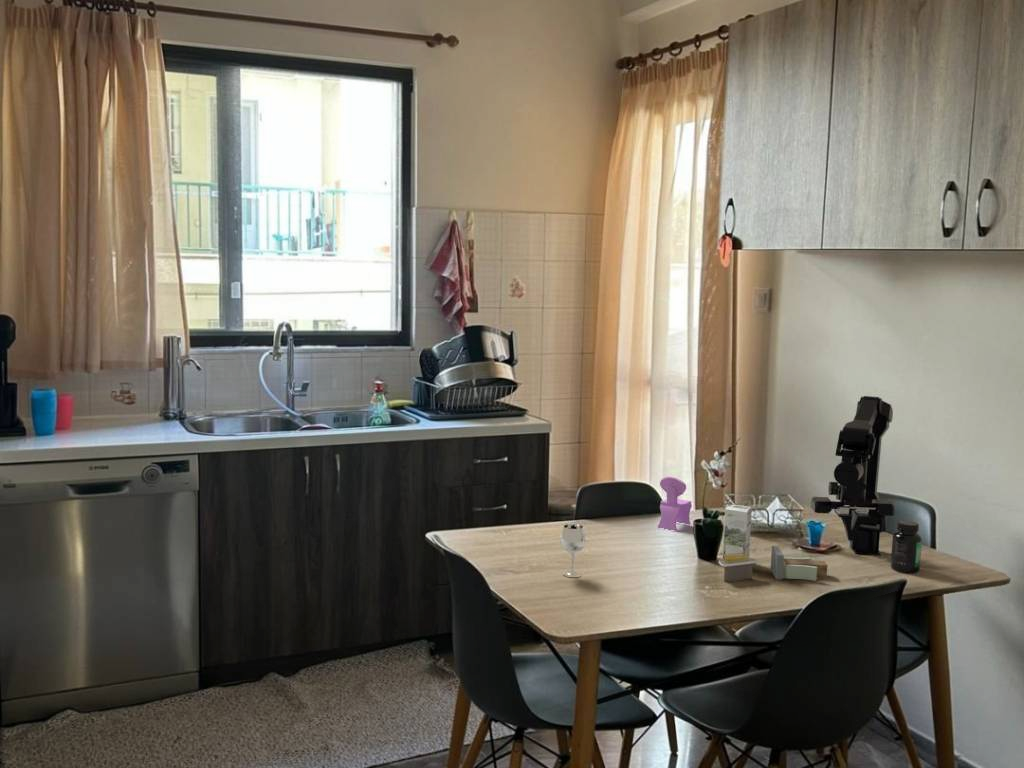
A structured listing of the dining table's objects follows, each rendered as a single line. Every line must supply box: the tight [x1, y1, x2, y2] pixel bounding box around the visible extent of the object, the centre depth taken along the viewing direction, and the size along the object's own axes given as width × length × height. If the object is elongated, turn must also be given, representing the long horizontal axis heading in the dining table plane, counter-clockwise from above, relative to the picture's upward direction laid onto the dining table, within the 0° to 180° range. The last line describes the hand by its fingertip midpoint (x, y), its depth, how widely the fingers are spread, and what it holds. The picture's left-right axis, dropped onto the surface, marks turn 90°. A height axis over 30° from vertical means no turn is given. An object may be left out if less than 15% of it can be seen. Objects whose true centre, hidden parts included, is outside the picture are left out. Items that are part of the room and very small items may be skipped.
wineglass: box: [560, 523, 586, 576], centre depth 243 cm, size 6×6×12 cm
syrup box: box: [722, 504, 753, 559], centre depth 255 cm, size 6×6×14 cm
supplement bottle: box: [890, 520, 923, 574], centre depth 253 cm, size 7×7×12 cm
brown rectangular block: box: [784, 559, 828, 579], centre depth 247 cm, size 10×4×4 cm, turn 85°
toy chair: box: [656, 476, 693, 532], centre depth 289 cm, size 8×9×15 cm
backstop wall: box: [770, 545, 785, 581], centre depth 247 cm, size 2×8×6 cm, turn 175°
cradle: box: [783, 556, 818, 582], centre depth 247 cm, size 8×9×3 cm
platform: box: [718, 552, 759, 583], centre depth 243 cm, size 12×18×7 cm, turn 113°
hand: (850, 540), depth 247 cm, fingers closed
